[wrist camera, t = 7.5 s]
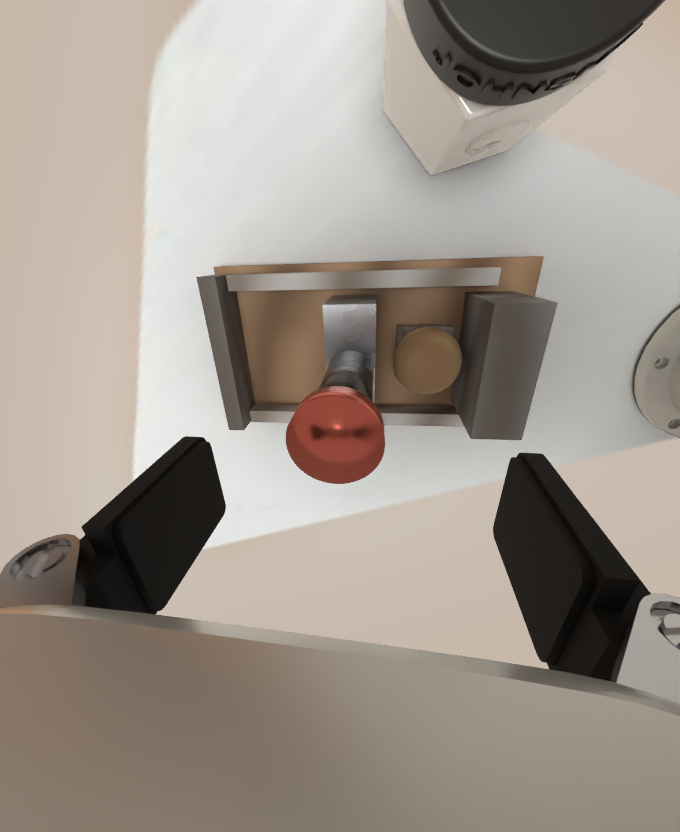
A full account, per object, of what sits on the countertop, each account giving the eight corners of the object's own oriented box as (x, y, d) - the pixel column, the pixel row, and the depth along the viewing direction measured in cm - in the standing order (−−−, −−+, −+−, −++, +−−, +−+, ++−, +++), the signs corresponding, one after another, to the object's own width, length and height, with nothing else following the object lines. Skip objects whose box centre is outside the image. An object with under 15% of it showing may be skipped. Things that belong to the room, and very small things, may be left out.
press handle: (382, 293, 22) (389, 339, 10) (379, 400, 25) (381, 524, 14) (327, 295, 22) (273, 339, 11) (332, 399, 26) (295, 519, 14)
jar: (395, 192, 20) (415, 124, 10) (367, 15, 17) (352, -380, 6) (547, 142, 19) (775, -8, 8) (550, -67, 15) (949, -806, 5)
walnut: (457, 320, 22) (475, 334, 18) (449, 380, 24) (464, 405, 20) (393, 321, 22) (396, 335, 18) (390, 380, 24) (393, 404, 20)
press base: (535, 256, 21) (603, 256, 15) (500, 416, 27) (539, 467, 20) (220, 266, 24) (163, 270, 17) (247, 412, 29) (210, 456, 23)
